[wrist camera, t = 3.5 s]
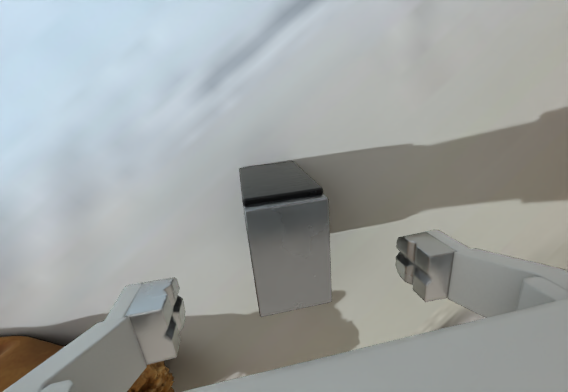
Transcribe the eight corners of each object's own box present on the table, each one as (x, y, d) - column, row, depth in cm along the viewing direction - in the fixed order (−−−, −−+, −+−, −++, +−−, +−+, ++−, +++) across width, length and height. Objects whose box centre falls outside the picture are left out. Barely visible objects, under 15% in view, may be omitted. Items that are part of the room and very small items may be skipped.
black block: (238, 167, 14) (242, 205, 9) (293, 160, 15) (328, 192, 9) (251, 248, 16) (260, 321, 10) (299, 240, 16) (332, 306, 11)
